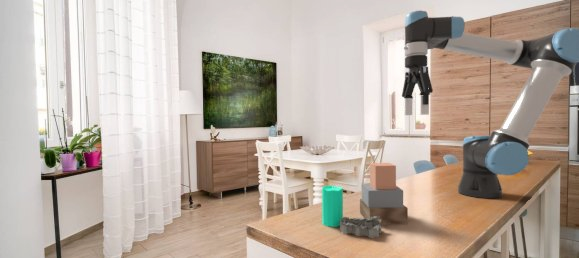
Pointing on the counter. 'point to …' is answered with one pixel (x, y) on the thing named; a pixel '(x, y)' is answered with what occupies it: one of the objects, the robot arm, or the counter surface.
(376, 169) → the terracotta block
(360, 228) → the egg carton
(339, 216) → the candle
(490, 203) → the counter surface
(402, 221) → the tower base
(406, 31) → the robot arm
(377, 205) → the gray tower middle block
